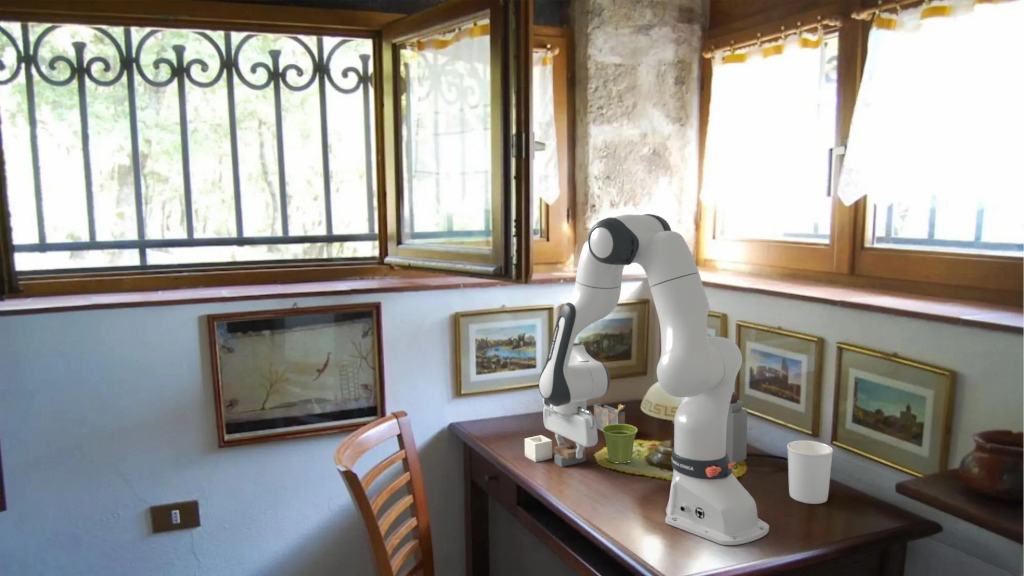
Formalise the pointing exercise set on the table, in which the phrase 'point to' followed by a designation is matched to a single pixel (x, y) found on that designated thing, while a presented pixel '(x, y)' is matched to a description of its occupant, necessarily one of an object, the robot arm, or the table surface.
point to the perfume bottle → (736, 430)
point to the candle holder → (809, 471)
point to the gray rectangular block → (568, 460)
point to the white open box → (538, 448)
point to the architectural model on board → (608, 415)
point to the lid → (567, 450)
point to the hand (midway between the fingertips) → (570, 453)
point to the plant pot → (619, 441)
